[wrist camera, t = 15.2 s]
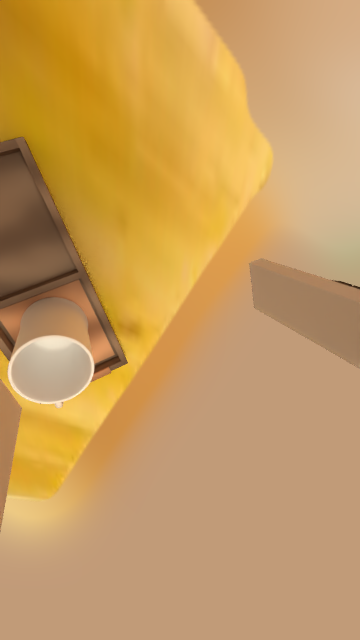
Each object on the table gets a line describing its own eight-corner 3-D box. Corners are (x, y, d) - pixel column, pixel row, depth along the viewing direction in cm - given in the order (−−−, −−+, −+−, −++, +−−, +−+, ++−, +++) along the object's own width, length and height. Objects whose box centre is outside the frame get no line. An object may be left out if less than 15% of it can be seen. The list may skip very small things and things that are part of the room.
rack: (-111, 176, 28) (-128, 174, 25) (25, 141, 31) (22, 136, 28) (41, 393, 42) (40, 405, 40) (124, 355, 45) (128, 364, 42)
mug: (85, 371, 42) (92, 425, 32) (21, 374, 39) (7, 436, 29) (89, 298, 39) (99, 332, 28) (19, 295, 35) (2, 333, 25)
